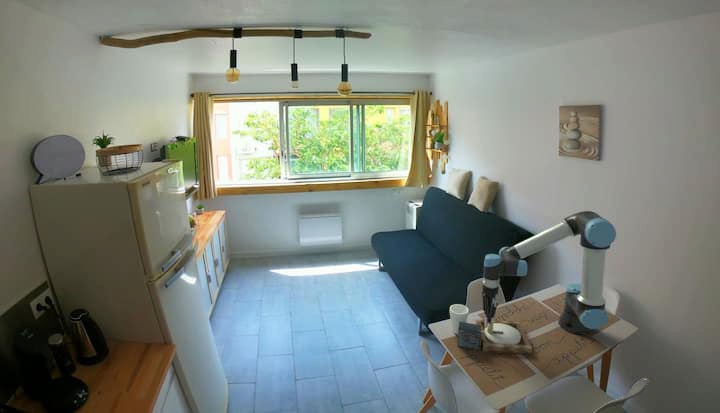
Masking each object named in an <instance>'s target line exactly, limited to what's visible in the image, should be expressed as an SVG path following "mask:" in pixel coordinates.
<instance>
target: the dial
mask: <svg viewBox="0 0 720 413" xmlns="http://www.w3.org/2000/svg"><path fill="white" fill-rule="evenodd" d="M484 334H485V337H486V339H487V340H488V341H489V342H491V343H492V344H509V345H518V344H519V343H520V340H521V335H520V333H519V331H518V330H516V329H515V328H513V327H511V326H509V325H506V324H501V323H494V324H492V323H488V328H485V332H484Z"/></svg>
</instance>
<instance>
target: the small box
mask: <svg viewBox="0 0 720 413" xmlns="http://www.w3.org/2000/svg"><path fill="white" fill-rule="evenodd" d="M458 330H459V331H458V334H457V338H458V339H457V347H458V348H462V349H468V348H470V350H474V349H476V350H475V351H481V342H480V339H481V325H477V324H476V323H470V322H466V323H464V322H459V328H458Z"/></svg>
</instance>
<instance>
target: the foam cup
mask: <svg viewBox="0 0 720 413" xmlns="http://www.w3.org/2000/svg"><path fill="white" fill-rule="evenodd" d="M469 311H470V310H469V308H468V306H466V305H464V304H460V303H458V304H457V303H456V304H455V303H454V304H452V305H450V307H449V316H450V327H451V332H452V333H453V334H455V335H458V331H459V330H458V328H459V322H464V323H468V322H467V321H468V317H469Z"/></svg>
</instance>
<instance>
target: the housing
mask: <svg viewBox="0 0 720 413" xmlns="http://www.w3.org/2000/svg"><path fill="white" fill-rule="evenodd" d="M484 323H485V319H475V324H477V325H481V339H480V346H481V345H482V346H481V349H482V351H483V353H490V352H491V353H494V354H495V353H496V354H509V355H510V354H511V355H525V356H526V355H527V356H532V354H533V346H532V345H531V343H530V340H529V339H528V337H527V335H526V332H525V330H524V328H523V326H522V324H521V322H520V321H514V320H513V321H512V320H496V319H493V320H492V319H491V323H492V324H494V323H501V324H506V325H509V326H511V327H513V328H515V329H516V330H518V331H519V333H520V335H521V340H520V343H519V344H518V345H509V344H492V343H491V342H489V341H488V340H487V339H486V337H485V334H484V332H485V326H484Z"/></svg>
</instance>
